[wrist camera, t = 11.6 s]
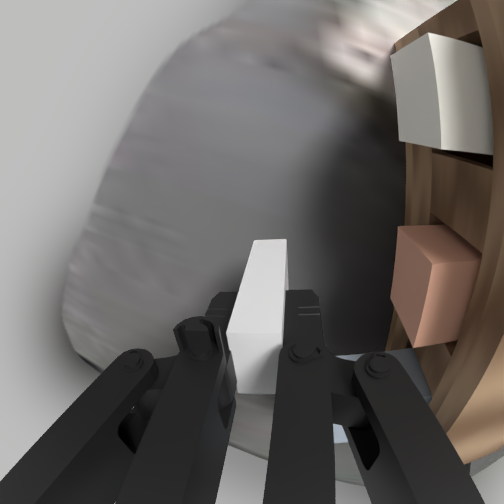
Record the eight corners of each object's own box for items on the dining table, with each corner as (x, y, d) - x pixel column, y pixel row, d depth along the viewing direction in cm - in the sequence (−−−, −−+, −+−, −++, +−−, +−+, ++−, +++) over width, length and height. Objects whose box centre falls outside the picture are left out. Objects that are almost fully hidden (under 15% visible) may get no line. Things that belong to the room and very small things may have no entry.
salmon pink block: (507, 283, 13) (540, 318, 9) (390, 297, 14) (412, 348, 10) (521, 223, 11) (562, 251, 7) (397, 226, 12) (432, 263, 9)
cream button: (527, 156, 9) (574, 172, 6) (399, 140, 11) (441, 149, 7) (523, 88, 8) (570, 90, 4) (390, 55, 9) (427, 32, 6)
